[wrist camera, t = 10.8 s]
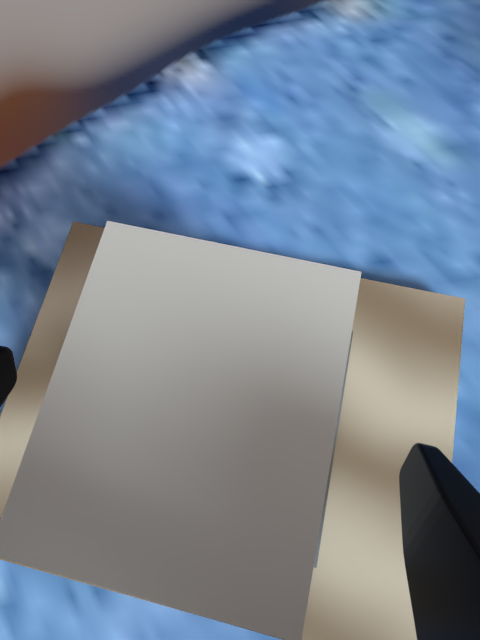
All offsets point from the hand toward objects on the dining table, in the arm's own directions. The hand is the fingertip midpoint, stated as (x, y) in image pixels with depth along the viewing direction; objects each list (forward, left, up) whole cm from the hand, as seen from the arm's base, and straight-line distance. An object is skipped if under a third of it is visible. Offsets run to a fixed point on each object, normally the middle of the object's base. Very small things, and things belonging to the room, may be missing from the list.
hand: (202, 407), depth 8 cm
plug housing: (0, 0, -7) cm, 7 cm away
